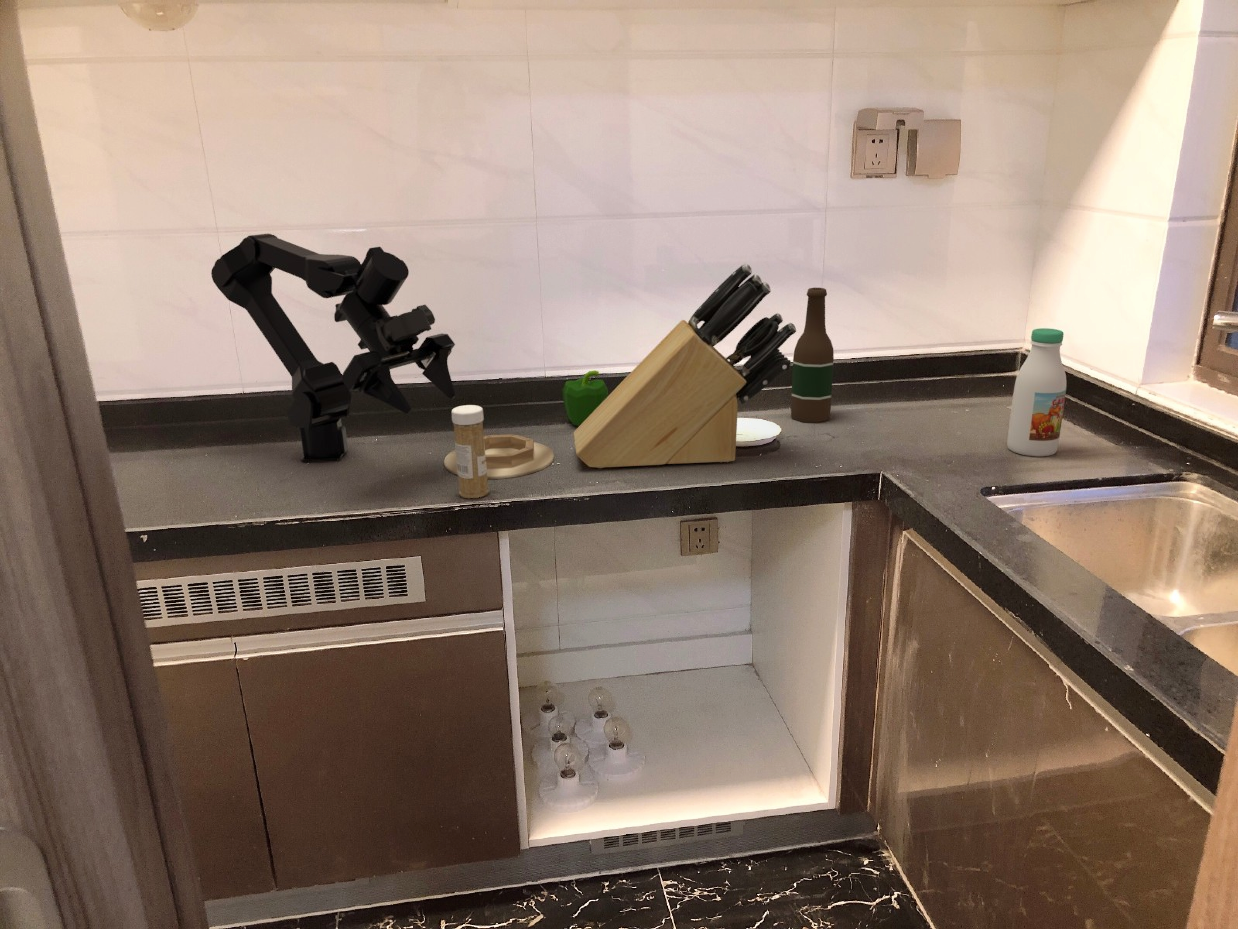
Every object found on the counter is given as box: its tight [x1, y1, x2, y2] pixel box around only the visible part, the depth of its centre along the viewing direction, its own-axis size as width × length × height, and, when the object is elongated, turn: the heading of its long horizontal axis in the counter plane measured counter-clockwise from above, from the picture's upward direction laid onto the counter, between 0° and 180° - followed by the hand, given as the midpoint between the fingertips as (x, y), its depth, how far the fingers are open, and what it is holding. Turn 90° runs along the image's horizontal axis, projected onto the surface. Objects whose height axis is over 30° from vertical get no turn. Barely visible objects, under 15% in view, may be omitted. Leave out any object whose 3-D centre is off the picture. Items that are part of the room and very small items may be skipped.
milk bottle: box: [1006, 327, 1067, 457], centre depth 148 cm, size 8×8×20 cm
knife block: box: [573, 262, 797, 469], centre depth 148 cm, size 11×35×31 cm, turn 95°
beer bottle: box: [790, 287, 835, 424], centre depth 168 cm, size 8×8×24 cm
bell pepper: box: [562, 370, 609, 427], centre depth 169 cm, size 8×8×10 cm
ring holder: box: [444, 434, 555, 480], centre depth 152 cm, size 18×18×3 cm
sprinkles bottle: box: [451, 404, 490, 499], centre depth 136 cm, size 5×5×13 cm
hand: (432, 404), depth 138 cm, fingers open, 9 cm apart
